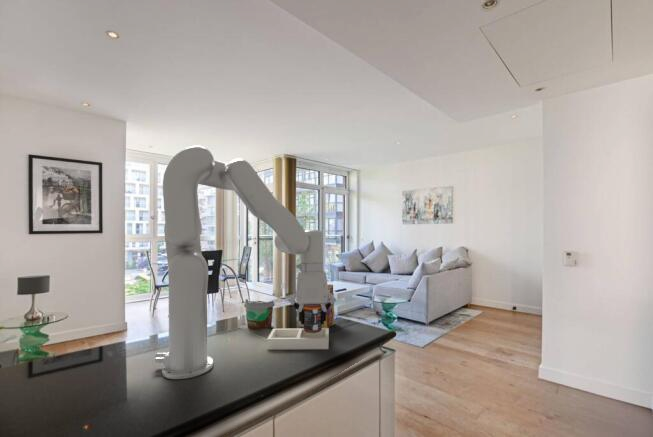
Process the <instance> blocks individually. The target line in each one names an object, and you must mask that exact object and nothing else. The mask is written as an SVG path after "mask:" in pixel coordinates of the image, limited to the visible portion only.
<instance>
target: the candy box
mask: <svg viewBox="0 0 653 437" xmlns="http://www.w3.org/2000/svg"><path fill="white" fill-rule="evenodd" d="M327 285H328V291H329V292H330V293H331V294H332V295H333V296H334V284H330V283H329V284H328V283H327ZM334 297H335V296H334ZM330 300H331V299H330V298H329V297H328V301H327V302H326V303H325V304H327V303H328V302H329V301H330ZM335 321H336V320H335V302H334V303H333V304H332V305H331V307H330V308H329V309H328V310H327V311H326V321H324V325H322V328H329V329H330V327H332V326H333V325H335V323H336V322H335Z"/></svg>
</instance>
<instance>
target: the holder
mask: <svg viewBox="0 0 653 437" xmlns="http://www.w3.org/2000/svg"><path fill="white" fill-rule="evenodd" d="M329 331H330V327H329V328H322V330H321V331H320V332H318V333H307V332H305V331H304V328H303V327H299V328H298V327H297V328H272V330H271V332H270V333H269V334H268V336H267V338H266V350H329V345H330V344H329V342H330V340H329V339H330V334H329V333H330V332H329Z"/></svg>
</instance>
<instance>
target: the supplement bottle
mask: <svg viewBox="0 0 653 437" xmlns="http://www.w3.org/2000/svg"><path fill="white" fill-rule="evenodd" d="M303 307H304V308H303V310H304V331H305V332H307V333H318V332H320V331H321V330H322V319H321V312H322V307H321V305H320V304H304V306H303Z"/></svg>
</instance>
